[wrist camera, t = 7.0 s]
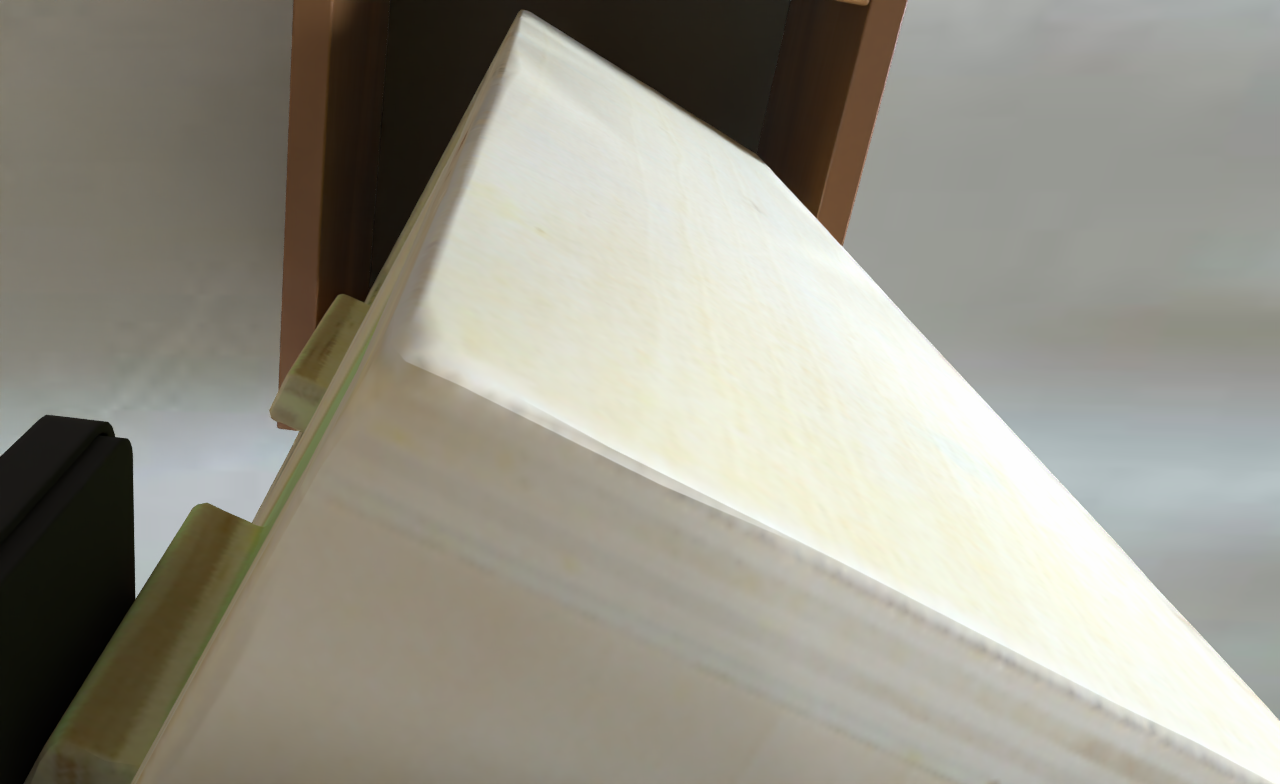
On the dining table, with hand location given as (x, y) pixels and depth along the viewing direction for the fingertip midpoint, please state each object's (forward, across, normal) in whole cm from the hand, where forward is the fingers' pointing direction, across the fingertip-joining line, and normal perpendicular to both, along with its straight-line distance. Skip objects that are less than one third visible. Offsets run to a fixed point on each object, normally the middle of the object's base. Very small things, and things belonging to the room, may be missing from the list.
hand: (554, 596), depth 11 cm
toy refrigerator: (+16, 0, 0) cm, 16 cm away
